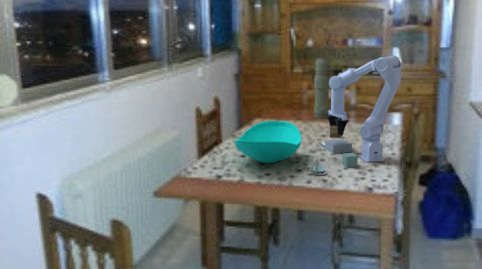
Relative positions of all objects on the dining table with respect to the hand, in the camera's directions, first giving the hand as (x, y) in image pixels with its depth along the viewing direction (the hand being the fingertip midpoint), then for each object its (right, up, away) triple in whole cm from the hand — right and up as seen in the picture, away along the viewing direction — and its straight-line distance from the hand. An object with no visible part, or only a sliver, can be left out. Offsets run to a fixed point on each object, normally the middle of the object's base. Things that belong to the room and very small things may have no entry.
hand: (337, 133), depth 233 cm
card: (-1, -5, +14) cm, 15 cm away
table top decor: (-31, -12, -10) cm, 35 cm away
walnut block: (0, -2, 0) cm, 2 cm away
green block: (+2, -13, -19) cm, 23 cm away
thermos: (+5, +9, +77) cm, 77 cm away
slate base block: (+1, -8, +4) cm, 9 cm away
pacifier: (-12, -16, -28) cm, 35 cm away
